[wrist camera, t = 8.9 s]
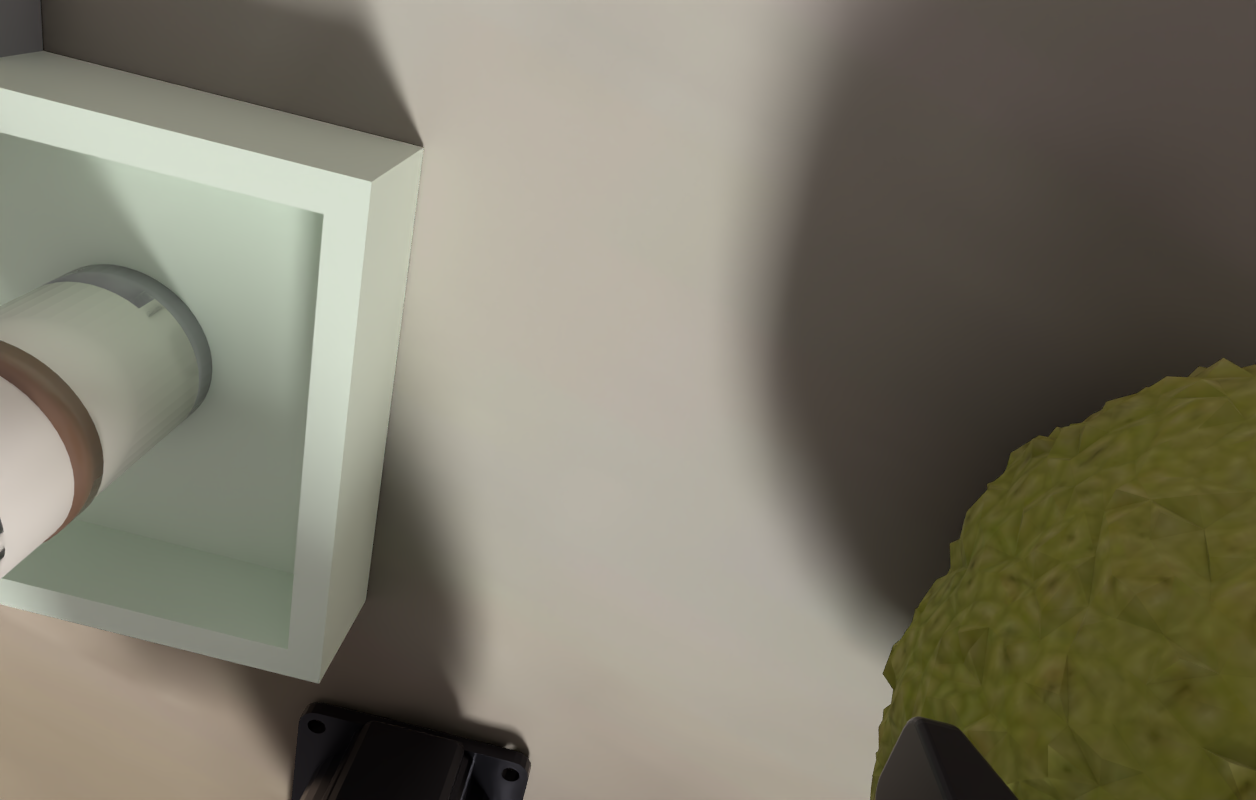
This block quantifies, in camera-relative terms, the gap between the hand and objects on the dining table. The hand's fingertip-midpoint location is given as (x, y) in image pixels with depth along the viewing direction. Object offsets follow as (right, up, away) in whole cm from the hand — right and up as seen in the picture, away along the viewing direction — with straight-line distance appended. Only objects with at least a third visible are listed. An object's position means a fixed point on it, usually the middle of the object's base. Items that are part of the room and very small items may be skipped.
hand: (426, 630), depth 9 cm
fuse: (-10, +3, +13) cm, 16 cm away
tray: (-10, +4, +13) cm, 17 cm away
